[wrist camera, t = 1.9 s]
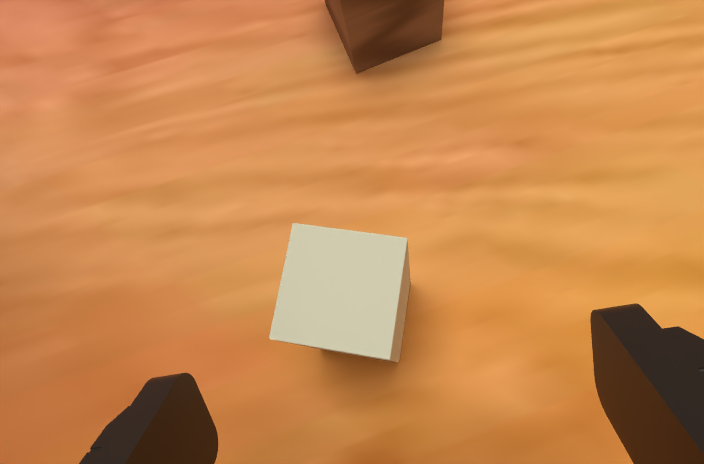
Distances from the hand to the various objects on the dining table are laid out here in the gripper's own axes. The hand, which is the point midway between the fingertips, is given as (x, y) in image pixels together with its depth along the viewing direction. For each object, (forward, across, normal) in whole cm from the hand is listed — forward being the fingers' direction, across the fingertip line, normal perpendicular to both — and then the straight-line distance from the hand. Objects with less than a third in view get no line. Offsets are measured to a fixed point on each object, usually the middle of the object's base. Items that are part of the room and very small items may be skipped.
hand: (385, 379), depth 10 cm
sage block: (+16, +3, +8) cm, 18 cm away
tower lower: (+28, -1, -7) cm, 29 cm away
